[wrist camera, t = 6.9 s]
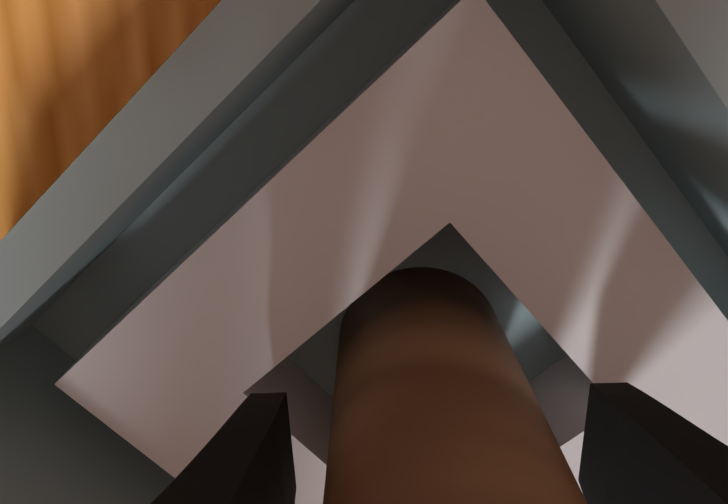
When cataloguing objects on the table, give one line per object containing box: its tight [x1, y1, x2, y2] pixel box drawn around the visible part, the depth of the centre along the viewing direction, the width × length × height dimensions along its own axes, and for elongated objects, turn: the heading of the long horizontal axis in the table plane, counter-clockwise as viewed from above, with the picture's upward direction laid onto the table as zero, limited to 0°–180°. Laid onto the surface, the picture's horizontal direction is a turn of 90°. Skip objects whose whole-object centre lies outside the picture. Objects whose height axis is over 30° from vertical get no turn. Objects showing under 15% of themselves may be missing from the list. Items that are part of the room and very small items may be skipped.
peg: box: [323, 267, 587, 504], centre depth 9 cm, size 4×4×8 cm
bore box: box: [0, 0, 728, 504], centre depth 11 cm, size 14×14×4 cm
